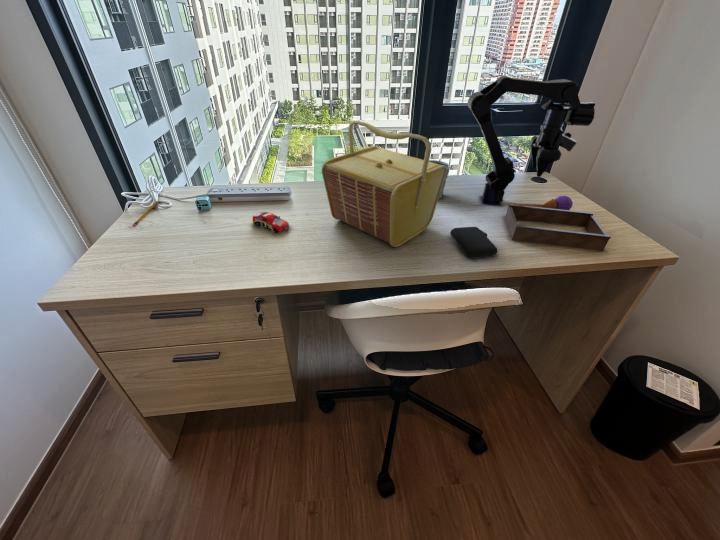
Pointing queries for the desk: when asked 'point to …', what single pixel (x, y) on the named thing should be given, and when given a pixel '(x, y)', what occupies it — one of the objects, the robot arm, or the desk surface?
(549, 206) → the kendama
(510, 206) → the wooden tray
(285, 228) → the race car
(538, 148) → the robot arm
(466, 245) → the carrying case
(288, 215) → the desk surface
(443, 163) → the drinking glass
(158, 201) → the pencil
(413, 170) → the picnic basket
